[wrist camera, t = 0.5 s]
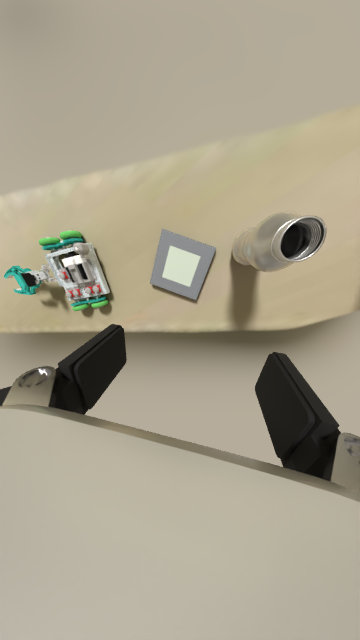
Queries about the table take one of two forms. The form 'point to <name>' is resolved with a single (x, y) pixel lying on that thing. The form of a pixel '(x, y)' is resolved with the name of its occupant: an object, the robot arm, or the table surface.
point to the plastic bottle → (279, 241)
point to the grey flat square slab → (181, 264)
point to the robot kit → (67, 271)
